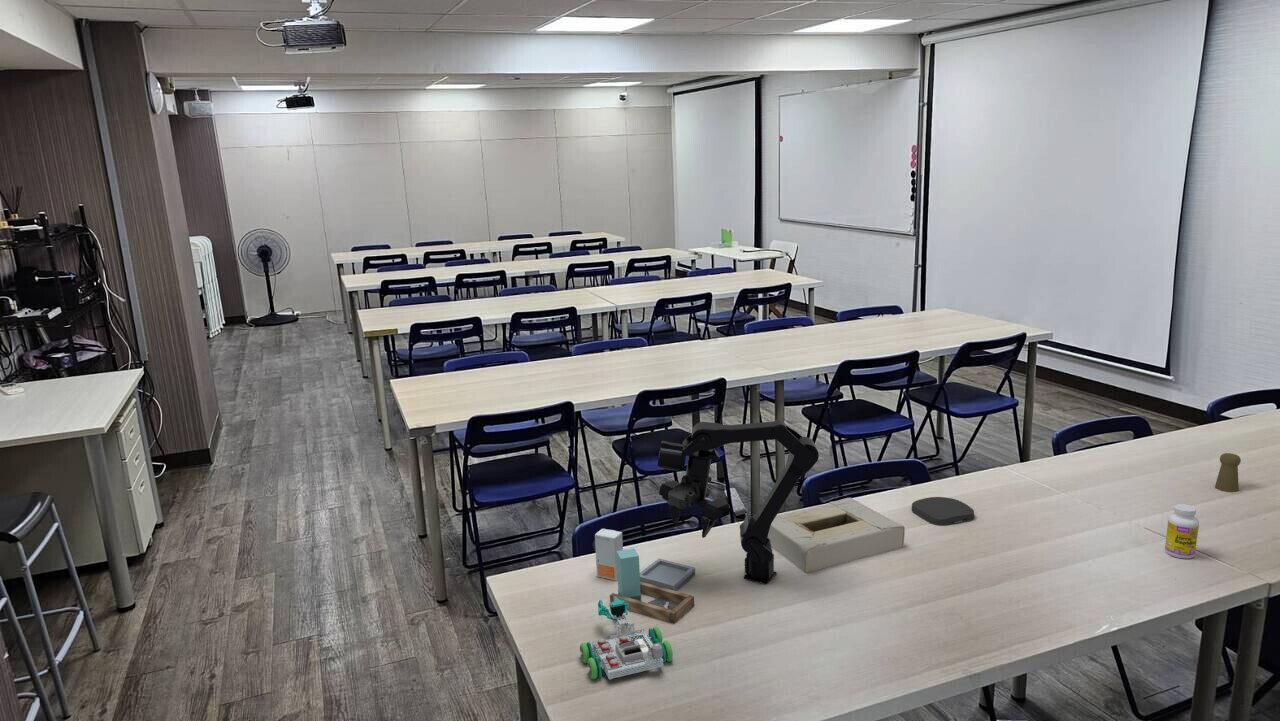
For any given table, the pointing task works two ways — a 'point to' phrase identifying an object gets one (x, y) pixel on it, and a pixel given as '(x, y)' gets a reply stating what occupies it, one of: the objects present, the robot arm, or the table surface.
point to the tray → (667, 574)
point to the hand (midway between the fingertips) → (689, 530)
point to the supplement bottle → (1182, 532)
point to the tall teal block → (628, 574)
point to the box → (833, 534)
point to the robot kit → (624, 646)
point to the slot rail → (656, 611)
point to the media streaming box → (942, 510)
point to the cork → (1228, 473)
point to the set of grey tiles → (663, 603)
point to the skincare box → (607, 553)
